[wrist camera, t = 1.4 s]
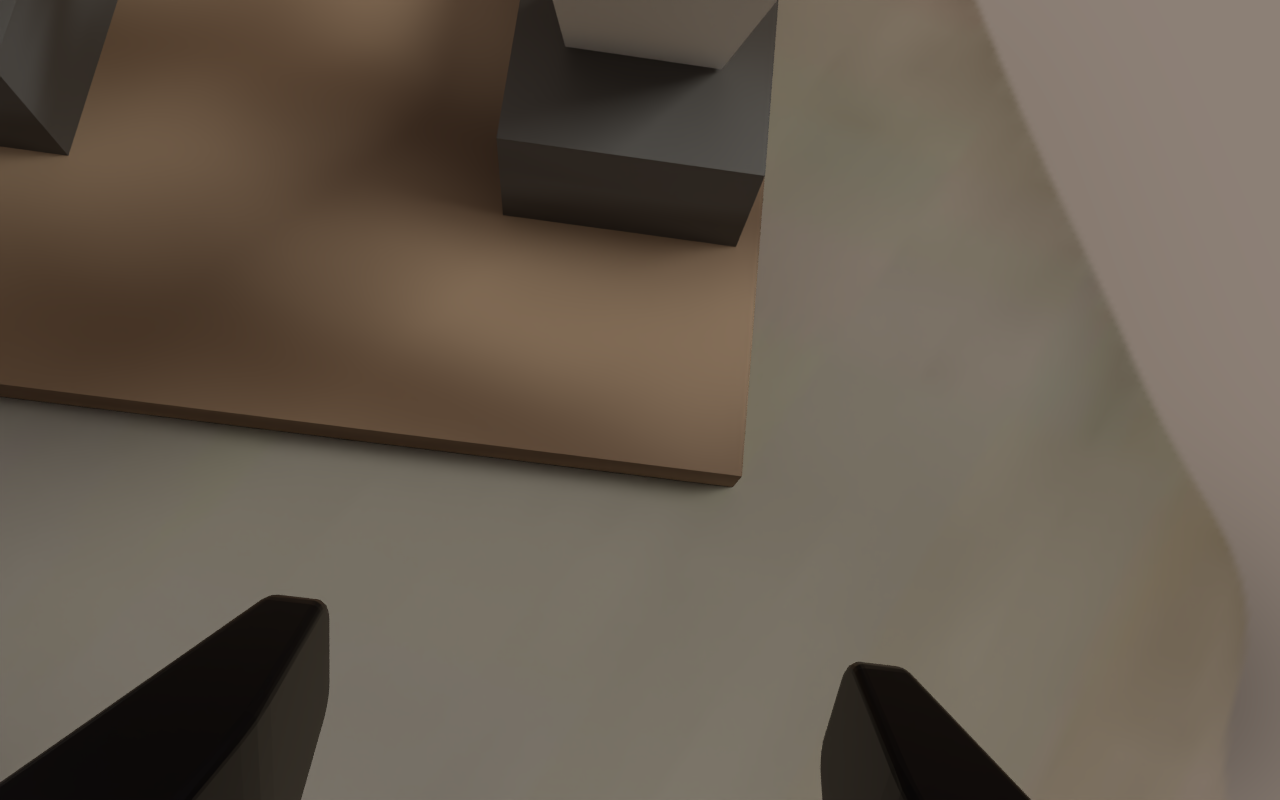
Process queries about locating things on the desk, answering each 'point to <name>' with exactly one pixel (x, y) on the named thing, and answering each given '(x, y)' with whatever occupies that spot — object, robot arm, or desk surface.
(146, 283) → the switch board
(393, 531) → the desk surface
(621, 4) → the lever
